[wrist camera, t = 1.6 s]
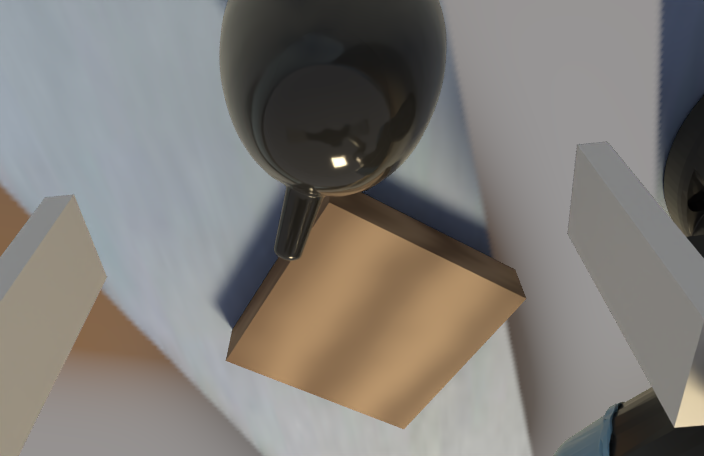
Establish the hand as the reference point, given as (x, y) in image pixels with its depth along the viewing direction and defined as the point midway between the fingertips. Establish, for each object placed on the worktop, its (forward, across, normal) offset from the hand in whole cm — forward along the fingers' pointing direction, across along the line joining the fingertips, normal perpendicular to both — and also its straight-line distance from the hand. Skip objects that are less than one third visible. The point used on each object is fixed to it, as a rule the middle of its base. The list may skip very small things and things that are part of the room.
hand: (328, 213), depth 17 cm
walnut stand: (+19, 0, +19) cm, 27 cm away
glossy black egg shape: (+19, 0, 0) cm, 19 cm away
